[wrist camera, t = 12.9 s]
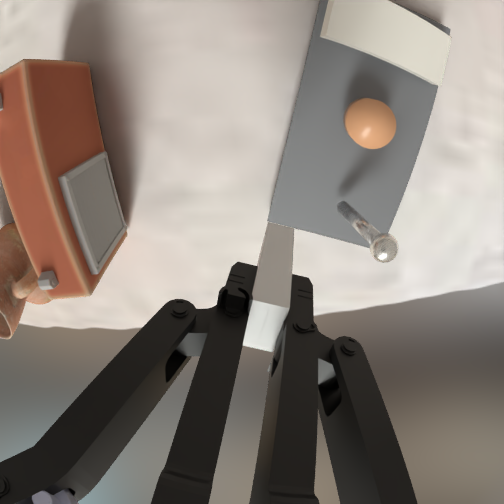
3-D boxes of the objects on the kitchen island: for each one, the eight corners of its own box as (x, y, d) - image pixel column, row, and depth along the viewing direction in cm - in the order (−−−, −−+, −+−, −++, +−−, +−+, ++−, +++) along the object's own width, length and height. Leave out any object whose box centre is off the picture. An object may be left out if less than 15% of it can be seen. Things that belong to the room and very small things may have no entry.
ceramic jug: (29, 291, 47) (-15, 340, 35) (-4, 223, 40) (-58, 266, 28) (91, 290, 43) (41, 354, 31) (53, 204, 36) (-17, 258, 24)
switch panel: (322, -12, 20) (326, -26, 16) (439, 32, 19) (458, 26, 16) (269, 211, 32) (265, 228, 29) (375, 239, 32) (383, 259, 29)
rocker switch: (332, -18, 15) (338, -22, 14) (442, 36, 18) (451, 37, 17) (320, 36, 18) (326, 35, 17) (432, 84, 20) (440, 86, 19)
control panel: (52, 79, 26) (-33, 90, 13) (101, 60, 26) (23, 52, 13) (91, 237, 37) (38, 309, 24) (137, 229, 37) (95, 305, 24)
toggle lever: (333, 192, 26) (387, 242, 20) (353, 195, 27) (408, 243, 20) (326, 214, 27) (375, 268, 21) (345, 216, 28) (396, 268, 22)
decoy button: (350, 91, 22) (354, 92, 20) (394, 107, 21) (402, 109, 20) (338, 136, 24) (341, 140, 22) (381, 150, 24) (388, 155, 22)
